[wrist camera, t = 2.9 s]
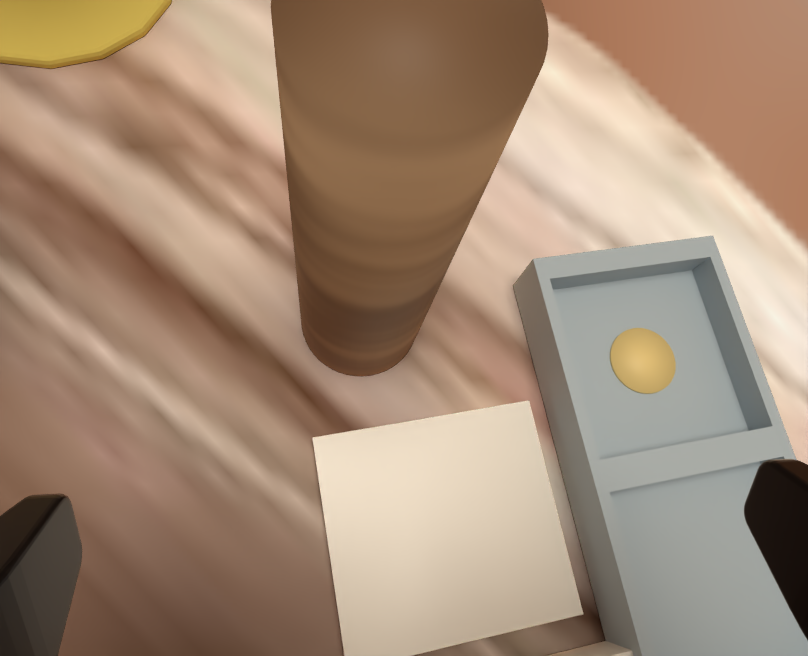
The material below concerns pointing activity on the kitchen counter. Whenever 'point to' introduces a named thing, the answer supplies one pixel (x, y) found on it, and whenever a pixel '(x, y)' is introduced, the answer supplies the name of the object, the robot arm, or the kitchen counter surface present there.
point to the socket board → (660, 444)
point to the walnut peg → (392, 153)
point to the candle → (72, 29)
